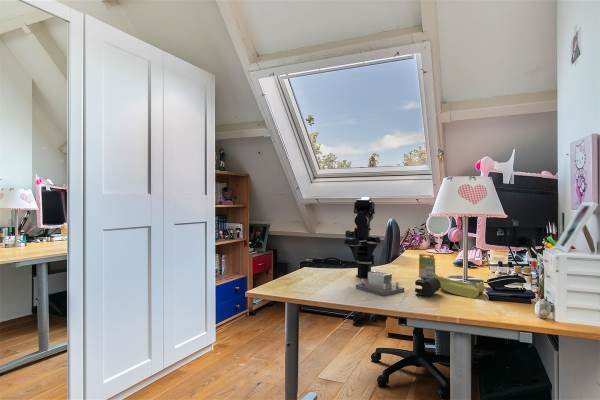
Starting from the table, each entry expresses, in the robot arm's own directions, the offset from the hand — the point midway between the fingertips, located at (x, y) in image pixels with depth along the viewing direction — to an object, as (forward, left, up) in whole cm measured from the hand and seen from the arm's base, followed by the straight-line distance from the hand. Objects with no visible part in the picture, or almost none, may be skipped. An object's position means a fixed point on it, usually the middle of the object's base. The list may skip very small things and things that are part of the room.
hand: (362, 258), depth 171 cm
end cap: (-6, +31, -11) cm, 34 cm away
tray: (+4, +14, -11) cm, 18 cm away
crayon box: (-35, +11, -11) cm, 38 cm away
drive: (+4, +14, -9) cm, 17 cm away
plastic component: (-21, +35, -12) cm, 43 cm away
